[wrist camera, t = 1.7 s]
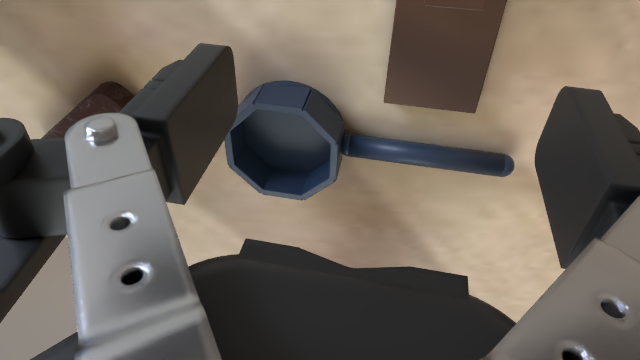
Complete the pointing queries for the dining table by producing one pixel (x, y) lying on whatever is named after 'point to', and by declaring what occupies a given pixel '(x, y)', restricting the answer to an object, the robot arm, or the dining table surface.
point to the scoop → (323, 144)
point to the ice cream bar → (93, 107)
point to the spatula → (441, 52)
